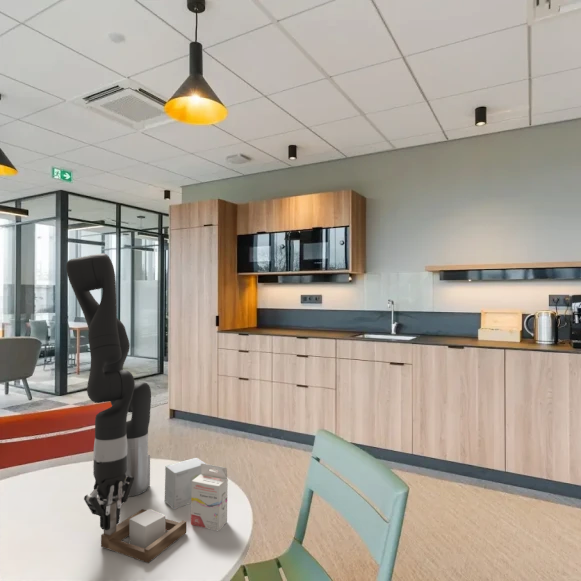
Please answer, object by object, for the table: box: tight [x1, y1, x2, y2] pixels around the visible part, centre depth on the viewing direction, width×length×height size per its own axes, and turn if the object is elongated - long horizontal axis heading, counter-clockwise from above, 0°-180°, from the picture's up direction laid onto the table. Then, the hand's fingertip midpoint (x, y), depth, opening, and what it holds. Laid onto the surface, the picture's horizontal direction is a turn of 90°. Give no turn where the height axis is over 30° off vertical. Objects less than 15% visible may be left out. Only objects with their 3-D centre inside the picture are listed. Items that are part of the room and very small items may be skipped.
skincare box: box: [164, 457, 207, 510], centre depth 125 cm, size 10×6×10 cm, turn 132°
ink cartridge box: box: [190, 463, 229, 532], centre depth 112 cm, size 9×5×15 cm, turn 71°
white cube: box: [128, 508, 167, 548], centre depth 104 cm, size 6×6×6 cm
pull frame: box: [100, 501, 187, 564], centre depth 104 cm, size 13×15×10 cm
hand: (109, 526), depth 102 cm, fingers closed on pull frame, 2 cm apart
